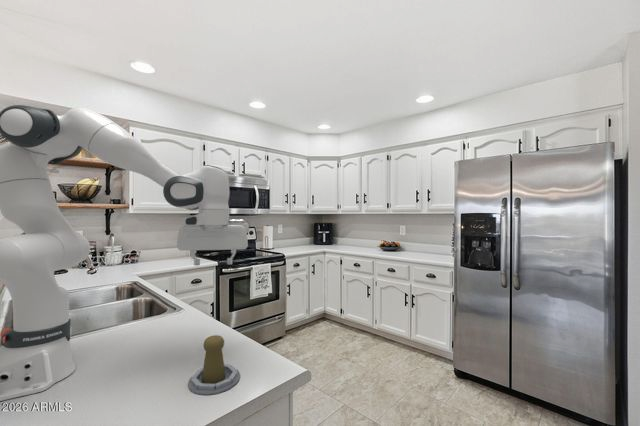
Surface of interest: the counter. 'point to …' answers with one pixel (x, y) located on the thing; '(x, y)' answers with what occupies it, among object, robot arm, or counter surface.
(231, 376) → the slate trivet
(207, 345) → the olive brown pepper mill
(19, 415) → the counter surface
